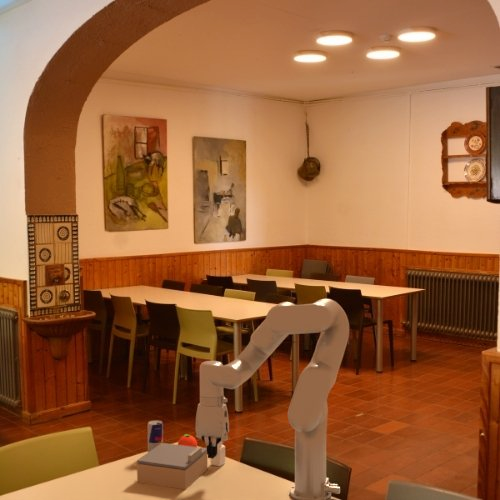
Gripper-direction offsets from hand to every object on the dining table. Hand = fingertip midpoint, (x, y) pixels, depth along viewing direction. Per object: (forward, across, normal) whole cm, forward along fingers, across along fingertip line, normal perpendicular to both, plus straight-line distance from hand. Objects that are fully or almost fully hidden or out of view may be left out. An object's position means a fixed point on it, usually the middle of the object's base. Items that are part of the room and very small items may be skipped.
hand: (212, 456), depth 209 cm
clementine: (+8, +18, -19) cm, 27 cm away
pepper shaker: (+8, +4, -14) cm, 17 cm away
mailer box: (+8, +14, 0) cm, 16 cm away
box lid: (+2, +14, 0) cm, 14 cm away
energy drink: (+8, +28, -14) cm, 32 cm away
